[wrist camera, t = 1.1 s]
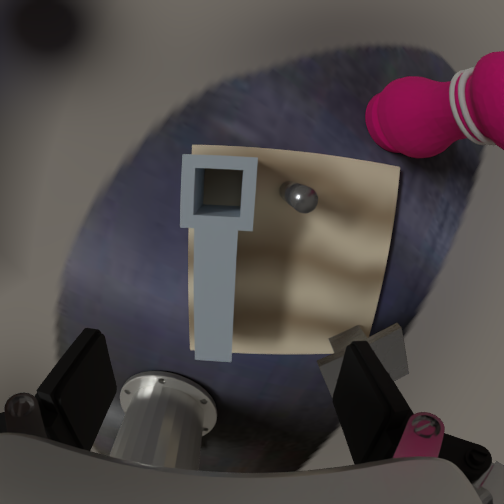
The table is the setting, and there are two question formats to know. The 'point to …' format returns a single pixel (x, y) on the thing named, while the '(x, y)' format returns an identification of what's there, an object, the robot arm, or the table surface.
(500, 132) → the pepper mill
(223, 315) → the link
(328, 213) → the base board
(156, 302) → the table surface
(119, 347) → the table surface
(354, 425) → the robot arm
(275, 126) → the table surface
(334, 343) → the block
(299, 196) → the post
